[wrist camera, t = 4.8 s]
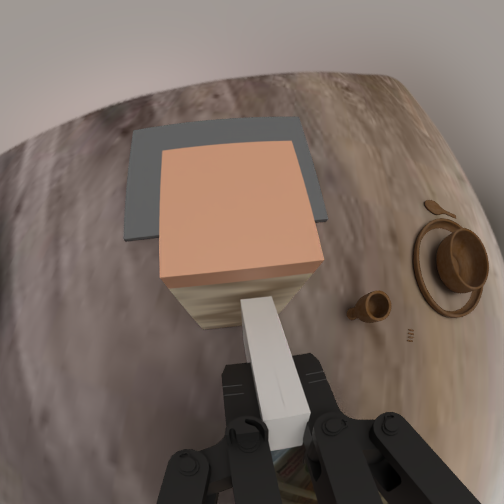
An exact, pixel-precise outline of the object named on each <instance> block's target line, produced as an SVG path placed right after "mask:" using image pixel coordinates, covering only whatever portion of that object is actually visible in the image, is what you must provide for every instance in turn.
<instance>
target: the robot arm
mask: <svg viewBox="0 0 504 504" xmlns="http://www.w3.org/2000/svg"><path fill="white" fill-rule="evenodd" d="M240 301H241V316H242V329H243V342H244V348H245V353H246V359H247V363H242V364H232V365H226V366H225V369H224V371H223V373H222V385H223V395H224V406H225V416H226V426H227V427H226V431H225V436H224V438H223V439H222V441H220V442H219V443H218V444H216V445H214V446H212V447H210V448H207V449H204V450H201V451H195V450H193V449H184V450H181V451H178V452H176V453H175V454H174V455H173V456H172V457H171V458H170V460H169V462H168V466H167V469H166V472H165V476H164V479H163V483H162V486H161V490H160V493H159V496H158V500H157V503H156V504H217V500H218V495H219V492H221V491H224V490H226V489H229V488H232V487H233V492H234V499H235V504H282V500H281V496H280V491H279V487H278V482H277V478H276V473H275V469H274V464H273V460H272V455H271V451H274V450H280V449H286V448H291V447H296V446H301V445H302V443H303V442H304V445H305V449H306V452H305V455H304V458H303V464H306V463H307V466H308V470H309V473H310V477H311V480H312V484H313V487H314V491H315V494H316V498H317V501H318V504H383V502H382V499H381V497H380V494H381V495H382V496H383V497H384V499H385V500H386V501H387V503H388V504H481V503H480V502H479V501H478V500H477V499H476V498H475V496H474V495H473V494H472V493H471V492H470V491H469V490H468V489H467V487H466V486H465V485H464V484H463V483H462V482H461V481H460V480H459V479H458V477H457V476H456V475H455V474H454V473H453V472H452V471H451V470H450V469H449V467H448V466H447V465H446V464H445V463H444V462H443V461H442V460H441V459H440V457H439V456H438V455H437V454H436V453H435V452H434V451H433V450H432V449H431V447H430V446H429V445H428V444H427V443H426V442H425V441H424V440H423V439H422V437H421V436H420V435H419V434H418V433H417V432H416V431H415V430H414V429H413V427H412V426H411V425H410V424H409V423H408V422H407V421H406V420H405V419H404V418H403V417H402V416H401V415H399V414H397V413H394V412H386V413H383V414H381V415H380V416H378V417H377V418H376V420H357V419H352V418H349V417H347V416H346V415H344V414H343V413H342V412H341V411H340V409H339V407H338V405H337V403H336V400H335V398H334V395H333V393H332V391H331V388H330V386H329V383H328V381H327V380H326V376H325V374H324V372H323V369H322V367H321V364H320V362H319V360H318V359H317V358H316V357H315V356H313V355H312V354H311V353H307V354H301V355H295V356H292V355H291V352H290V349H289V346H288V343H287V340H286V337H285V334H284V331H283V328H282V325H281V322H280V319H279V316H278V313H277V310H276V308H275V305H274V302H273V299H272V296H269V297H260V298H250V299H241V300H240ZM378 491H379V492H380V494H379V492H378Z"/></svg>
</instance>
